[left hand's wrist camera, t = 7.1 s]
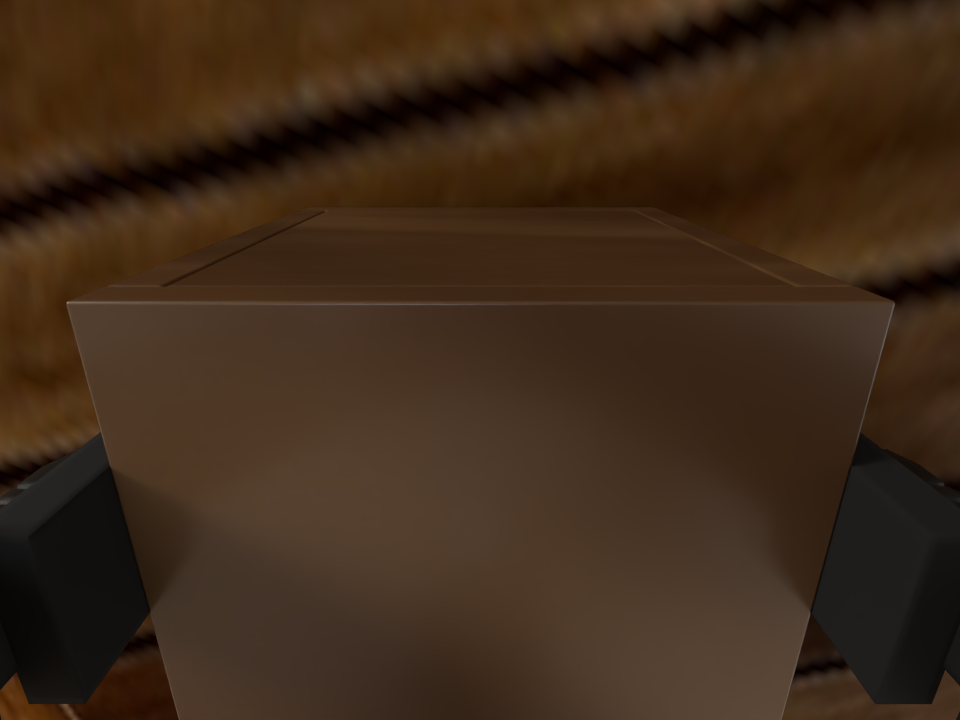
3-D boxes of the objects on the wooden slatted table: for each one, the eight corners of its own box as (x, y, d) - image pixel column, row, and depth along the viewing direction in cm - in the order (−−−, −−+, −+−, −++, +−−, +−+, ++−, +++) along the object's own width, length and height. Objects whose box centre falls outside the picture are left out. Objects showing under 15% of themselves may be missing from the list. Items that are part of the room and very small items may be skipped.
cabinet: (603, 684, 24) (688, 1063, 14) (357, 683, 24) (271, 1063, 14) (654, 206, 17) (898, 302, 7) (305, 206, 17) (62, 301, 7)
